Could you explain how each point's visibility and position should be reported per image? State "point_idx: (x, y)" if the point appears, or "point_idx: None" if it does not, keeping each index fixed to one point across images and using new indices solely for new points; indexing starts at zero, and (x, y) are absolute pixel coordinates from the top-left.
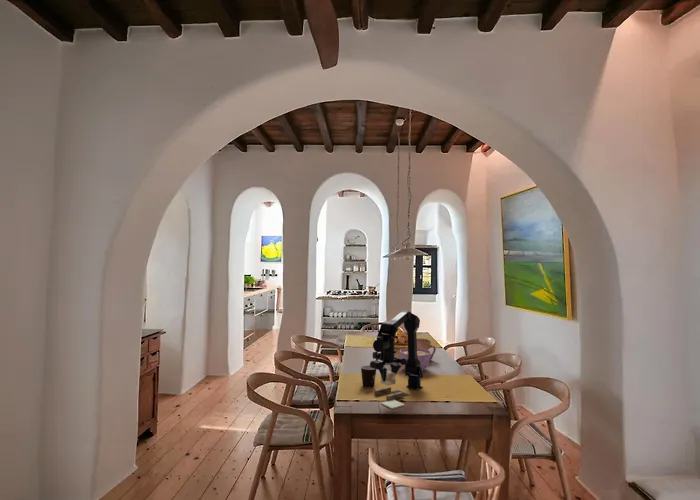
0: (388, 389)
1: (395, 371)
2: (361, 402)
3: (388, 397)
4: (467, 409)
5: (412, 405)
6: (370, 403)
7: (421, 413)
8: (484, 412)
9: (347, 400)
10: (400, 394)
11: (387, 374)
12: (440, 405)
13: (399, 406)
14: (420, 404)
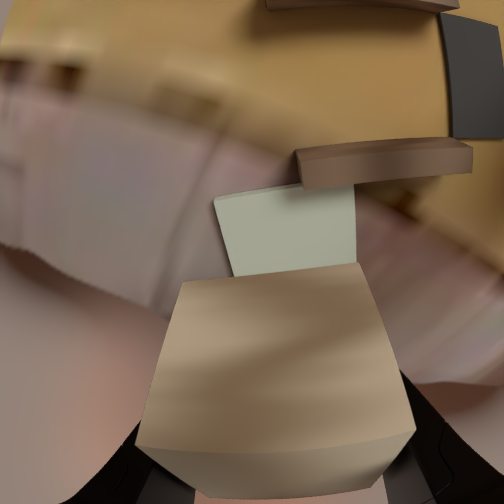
0: (426, 4)
1: (388, 502)
2: (84, 121)
3: (304, 186)
4: (495, 366)
5: (396, 293)
6: (138, 158)
7: None
8: (496, 384)
9: (19, 67)
10: (440, 171)
11: (220, 495)
12: (482, 326)
13: None
14: (439, 294)
